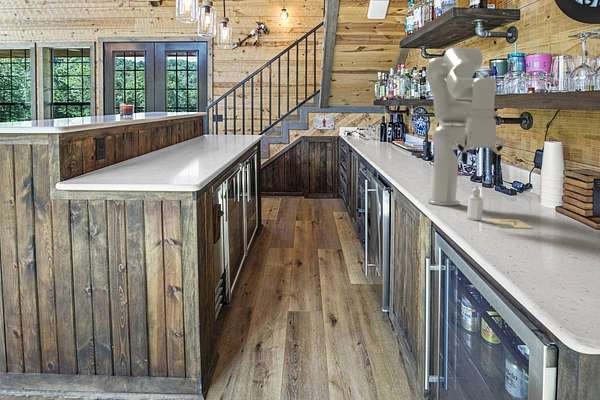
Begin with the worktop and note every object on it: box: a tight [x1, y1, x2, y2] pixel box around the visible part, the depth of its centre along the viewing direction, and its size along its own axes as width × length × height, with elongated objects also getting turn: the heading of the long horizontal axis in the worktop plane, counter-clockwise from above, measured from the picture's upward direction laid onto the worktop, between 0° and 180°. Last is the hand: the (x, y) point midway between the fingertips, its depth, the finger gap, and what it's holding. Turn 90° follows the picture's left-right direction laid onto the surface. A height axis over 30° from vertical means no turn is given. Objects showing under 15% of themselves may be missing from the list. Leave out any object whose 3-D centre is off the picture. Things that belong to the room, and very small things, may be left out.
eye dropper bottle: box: [466, 185, 484, 222], centre depth 211 cm, size 4×6×12 cm
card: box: [486, 218, 534, 230], centre depth 205 cm, size 14×11×1 cm
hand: (478, 164), depth 208 cm, fingers open, 9 cm apart
